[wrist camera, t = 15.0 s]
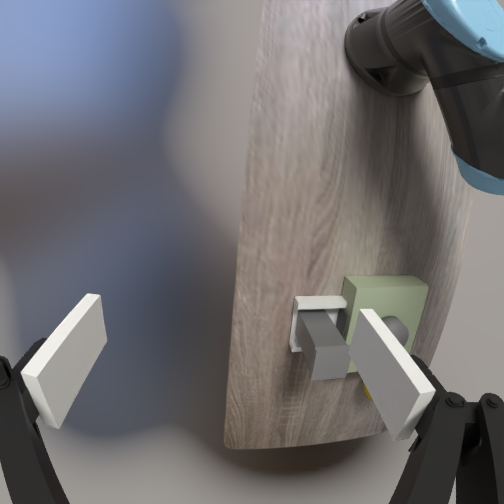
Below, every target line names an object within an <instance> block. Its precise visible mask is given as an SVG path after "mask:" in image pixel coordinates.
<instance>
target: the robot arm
mask: <svg viewBox="0 0 504 504" xmlns="http://www.w3.org/2000/svg"><path fill="white" fill-rule="evenodd" d="M345 47H346V52H347V55H348V58H349V60H350V63H351V65H352V66H353V68H354V70H355V71H356V72H357V74H358V75H359V76H360V77H361V78H362V79H363V80H364V81H365V82H366V83H367V84H368V85H369V86H371V87H372V88H374V89H375V90H377V91H379V92H381V93H384V94H386V95H390V96H405V95H409V94H413V93H416V92H418V91H419V90H421V89H422V88H423V87H424V86H425V85H426V84H427V83H428V82H429V81H430V82H431V85H432V87H433V90H434V93H435V95H436V98H437V101H438V104H439V106H440V109H441V112H442V115H443V118H444V121H445V124H446V127H447V131H448V134H449V137H450V141H451V149H452V152H453V154H454V156H455V158H456V161H457V164H458V168H459V171H460V174H461V176H462V177H463V178H464V179H465V181H466V182H467V183H468V184H469V185H471V186H472V187H474V188H476V189H478V190H480V191H483V192H487V193H491V194H496V195H504V10H503V9H502V7H501V6H500V5H499V4H498V2H497V1H496V0H397V1H396V2H395V3H393V4H392V5H391V6H389V7H385V8H379V9H372V10H368V11H366V12H364V13H362V14H360V15H359V16H358V17H357V18H355V19H354V20H353V21H352V22H351V23H350V25H349V27H348V29H347V31H346V35H345ZM106 342H107V337H106V331H105V325H104V318H103V311H102V304H101V297H100V295H95V294H86V296H85V297H84V298H83V299H82V300H81V301H80V302H79V303H78V305H76V307H75V308H74V309H73V310H72V311H71V312H70V313H69V315H68V316H67V317H66V318H65V319H64V320H63V321H62V323H61V324H60V325H59V326H58V327H57V328H56V329H55V331H54V332H53V333H52V334H51V335H50V337H49V338H48V339H47V338H42V339H40V340H39V341H37V342H35V343H34V344H33V345H32V346H31V347H30V349H29V351H27V352H26V353H25V354H24V356H23V357H22V358H21V359H20V361H19V362H18V363H17V364H16V365H15V367H14V368H13V369H12V368H11V366H10V364H9V361H8V359H7V358H5V357H3V356H0V462H1V466H2V470H3V473H4V477H5V481H6V484H7V487H8V491H9V494H10V497H11V500H12V503H13V504H70V503H69V501H68V499H67V497H66V495H65V493H64V491H63V489H62V486H61V484H60V482H59V480H58V478H57V475H56V473H55V471H54V468H53V466H52V464H51V461H50V458H49V456H48V453H47V450H46V448H45V445H44V442H43V439H42V437H41V434H40V431H39V428H38V425H37V423H36V419H37V417H38V415H39V416H40V418H41V420H42V422H43V424H45V425H48V426H51V427H54V428H58V429H59V428H60V426H61V424H62V422H63V420H64V418H65V416H66V415H67V412H68V411H69V409H70V407H71V405H72V403H73V401H74V399H75V397H76V395H77V393H78V392H79V390H80V388H81V386H82V384H83V382H84V381H85V379H86V377H87V375H88V373H89V372H90V370H91V368H92V366H93V364H94V363H95V361H96V359H97V357H98V356H99V354H100V352H101V350H102V349H103V347H104V345H105V343H106ZM348 353H349V355H350V357H351V359H352V361H353V363H354V365H355V367H356V369H357V370H358V372H359V374H360V376H361V378H362V380H363V382H364V384H365V386H366V388H367V390H368V392H369V394H370V395H371V397H372V399H373V401H374V403H375V405H376V407H377V409H378V411H379V413H380V415H381V417H382V419H383V421H384V423H385V425H386V427H387V429H388V431H389V433H390V435H391V437H392V439H393V441H394V442H395V441H400V440H404V439H408V438H409V437H410V436H411V434H412V432H413V431H414V429H415V430H416V431H417V433H418V436H417V438H416V440H415V441H414V443H413V444H412V446H411V447H410V449H409V450H408V451H409V452H410V451H411V453H410V455H409V458H408V461H407V463H406V466H405V468H404V471H403V473H402V476H401V478H400V480H399V483H398V485H397V487H396V489H395V492H394V494H393V496H392V498H391V500H390V502H389V504H448V502H449V499H450V496H451V492H452V488H453V484H454V480H455V476H456V504H504V402H503V400H502V399H501V398H500V397H499V396H497V395H495V394H492V393H485V394H484V395H483V396H482V397H481V399H480V400H479V402H466V400H465V399H464V398H463V397H462V396H461V395H459V394H457V393H454V392H447V391H446V390H445V389H444V388H443V386H442V385H441V384H440V382H439V381H438V380H437V379H436V377H435V376H434V375H432V372H431V371H430V370H429V369H428V367H427V366H426V364H425V363H424V362H423V361H422V360H421V359H419V358H418V357H416V356H415V355H409V354H408V353H407V352H406V350H405V349H404V348H403V346H402V345H401V344H400V343H399V341H398V340H397V339H396V338H395V336H394V335H393V334H392V332H391V331H390V330H389V329H388V327H387V326H386V325H385V324H384V323H383V321H382V320H381V319H380V318H379V316H378V315H377V314H376V313H375V311H374V310H373V309H359V313H358V317H357V321H356V325H355V329H354V333H353V337H352V340H351V344H350V347H349V351H348Z"/></svg>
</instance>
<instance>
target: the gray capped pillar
mask: <svg viewBox="0 0 504 504" xmlns="http://www.w3.org/2000/svg"><path fill="white" fill-rule="evenodd" d="M295 335H296V337H297V340H298V342H299V345H300V347H301V350H302V352H303V355H304V357H305V359H306V362H307V364H308V367H309V369H310V374H309V378H310V380H311V381H316V380H327V379H337V378H345V377H346V376H347V372H348V368H349V365H350V361H351V357H350V355H349V353H348V351H349V347H350V345H347V343H346V342H345V340H344V339H343V337H342V336H341V334H340V332H339V331H338V329H337V328H336V326H335V325H334V323H333V321H332V320H331V318H330V317H329V315H328V314H327V312H326V311H325V309H318V310H298V315H297V323H296V330H295Z"/></svg>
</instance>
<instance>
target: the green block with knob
mask: <svg viewBox="0 0 504 504" xmlns="http://www.w3.org/2000/svg"><path fill="white" fill-rule="evenodd" d="M428 289H429V285H427V284H426V283H425V282H423V281H422V280H420V279H419V278H418V277H416V276H415V275H381V276H345V279H344V285H343V291H342V296H295V300H294V308H293V317H292V325H291V333H290V340H289V345H290V348H291V351H292V352H302V350H301V347H300V345H299V342H298V340H297V337H296V335H295V330H296V323H297V315H298V310H318V309H325V311H326V312H327V314H328V315H329V317H330V318H331V320H332V321H333V323H334V325H335V326H336V328H337V329H338V331H339V332H340V334H341V336H342V337H343V339H344V340H345V342H346V343H347V345H350V344H351V340H352V337H353V333H354V329H355V325H356V321H357V317H358V313H359V309H373V310H374V311H375V313H376V314H377V315H378V316H379V318H380V319H381V320H382V321H383V323H384V324H385V325H386V326H387V327H388V329H389V330H390V331H391V332H392V334H393V335H394V336H395V338H396V339H397V340H398V341H399V343H400V344H401V345H402V346H403V348H404V349H405V350H406V352H407V353H408V354H409V353H410V350H411V347H412V344H413V341H414V338H415V335H416V332H417V329H418V325H419V322H420V319H421V315H422V312H423V308H424V304H425V301H426V297H427V293H428ZM350 372H358V370H357V369H356V367H355V365H354V363H353V361H352V359H351V361H350V365H349V368H348V372H347V373H350Z"/></svg>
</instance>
